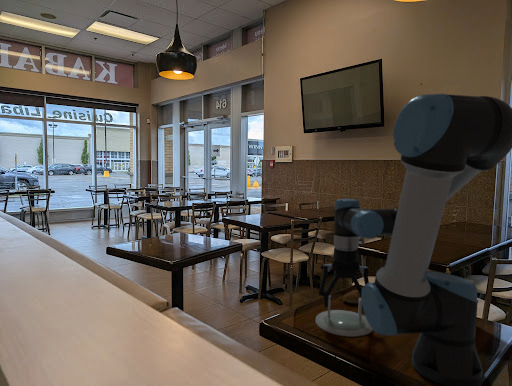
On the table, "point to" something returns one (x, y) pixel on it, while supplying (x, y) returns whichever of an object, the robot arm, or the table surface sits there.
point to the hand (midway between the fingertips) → (344, 318)
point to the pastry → (352, 297)
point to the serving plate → (343, 323)
